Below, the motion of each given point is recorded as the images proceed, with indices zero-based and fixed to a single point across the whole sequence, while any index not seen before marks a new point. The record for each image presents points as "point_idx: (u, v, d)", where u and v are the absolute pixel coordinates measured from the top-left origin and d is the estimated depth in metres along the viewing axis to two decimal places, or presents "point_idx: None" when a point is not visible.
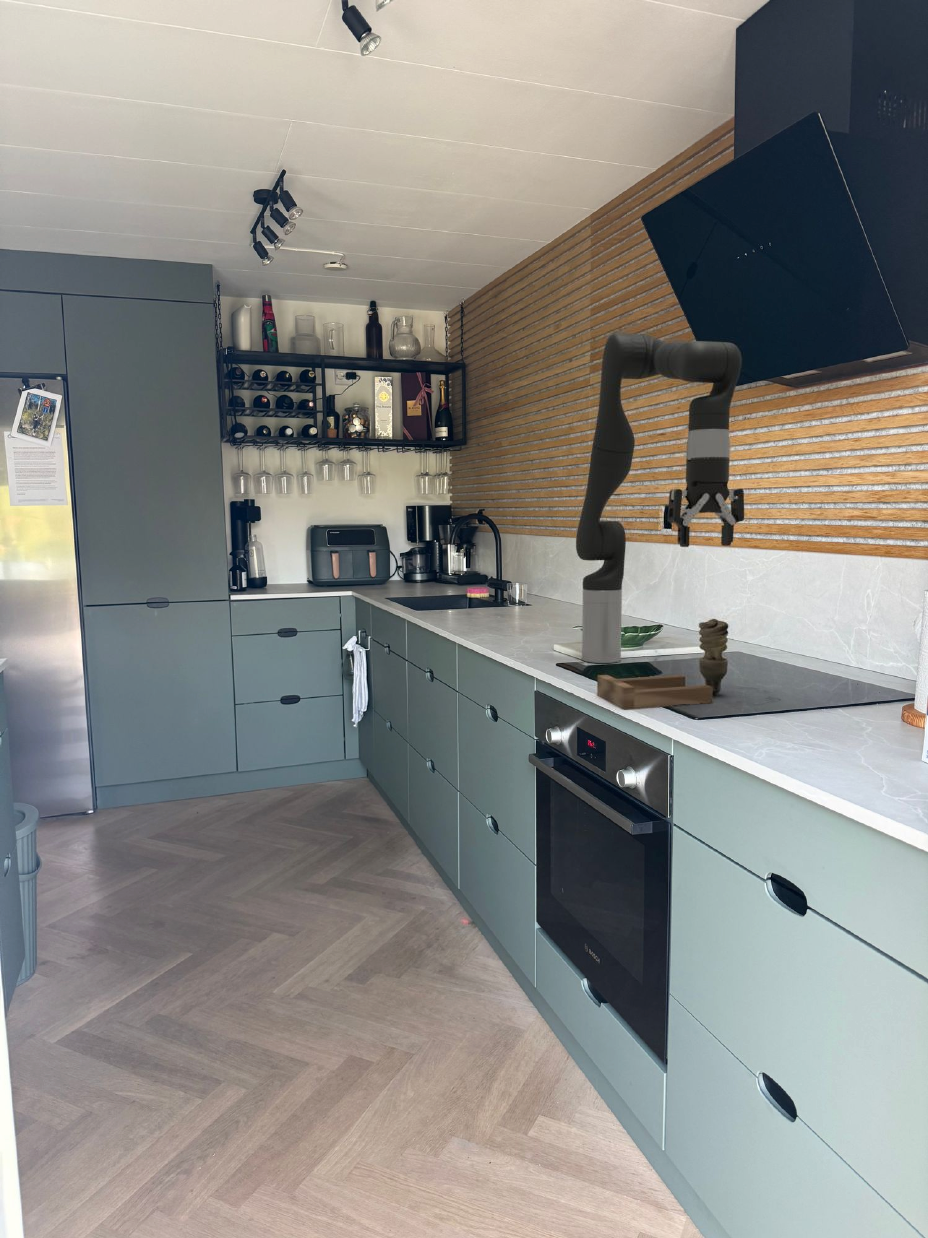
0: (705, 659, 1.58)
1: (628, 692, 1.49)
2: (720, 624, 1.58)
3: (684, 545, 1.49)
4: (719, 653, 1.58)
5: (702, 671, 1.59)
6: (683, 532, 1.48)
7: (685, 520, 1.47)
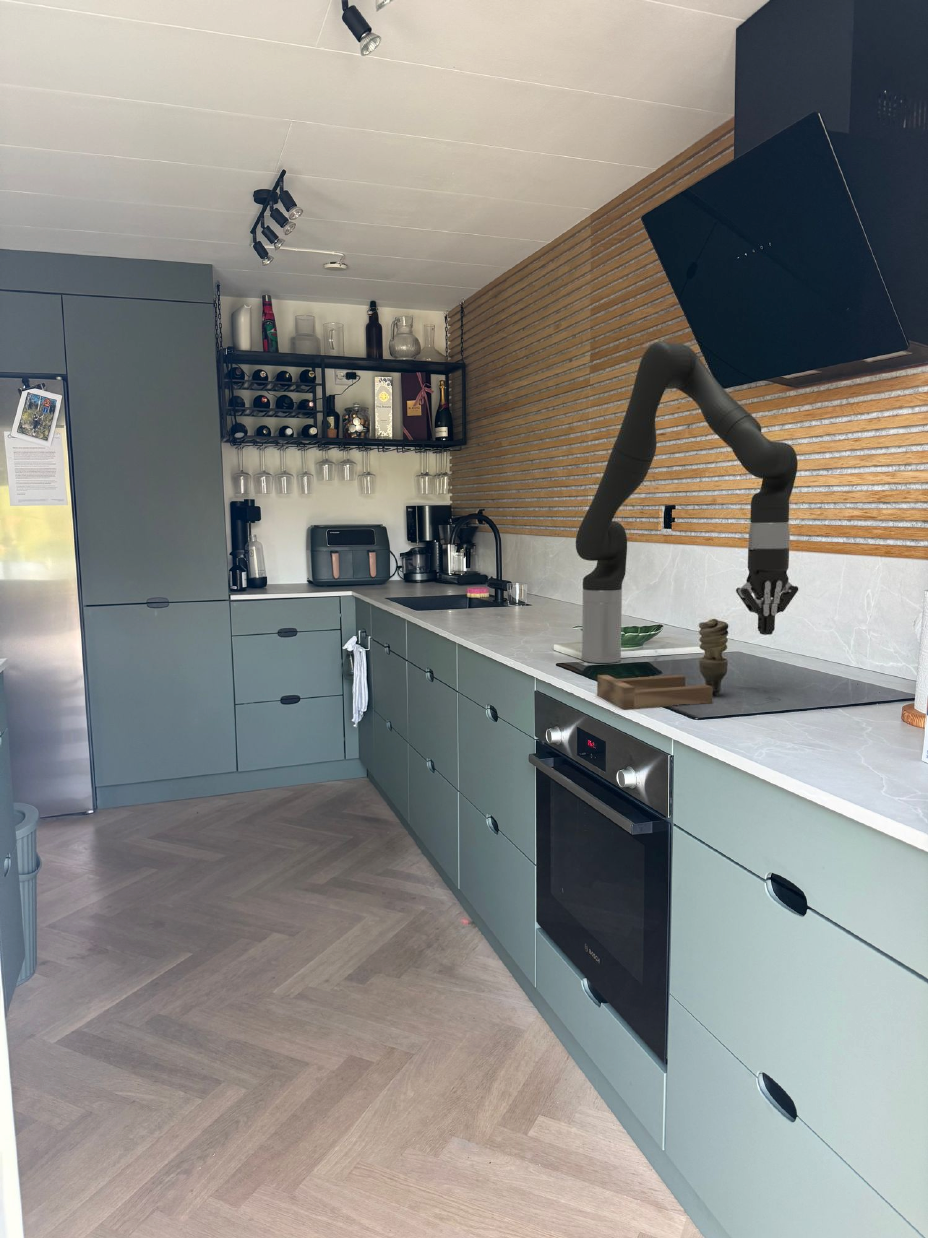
0: (705, 659, 1.58)
1: (628, 692, 1.49)
2: (720, 624, 1.58)
3: (764, 633, 1.61)
4: (719, 653, 1.58)
5: (702, 671, 1.59)
6: (763, 621, 1.60)
7: (766, 611, 1.60)
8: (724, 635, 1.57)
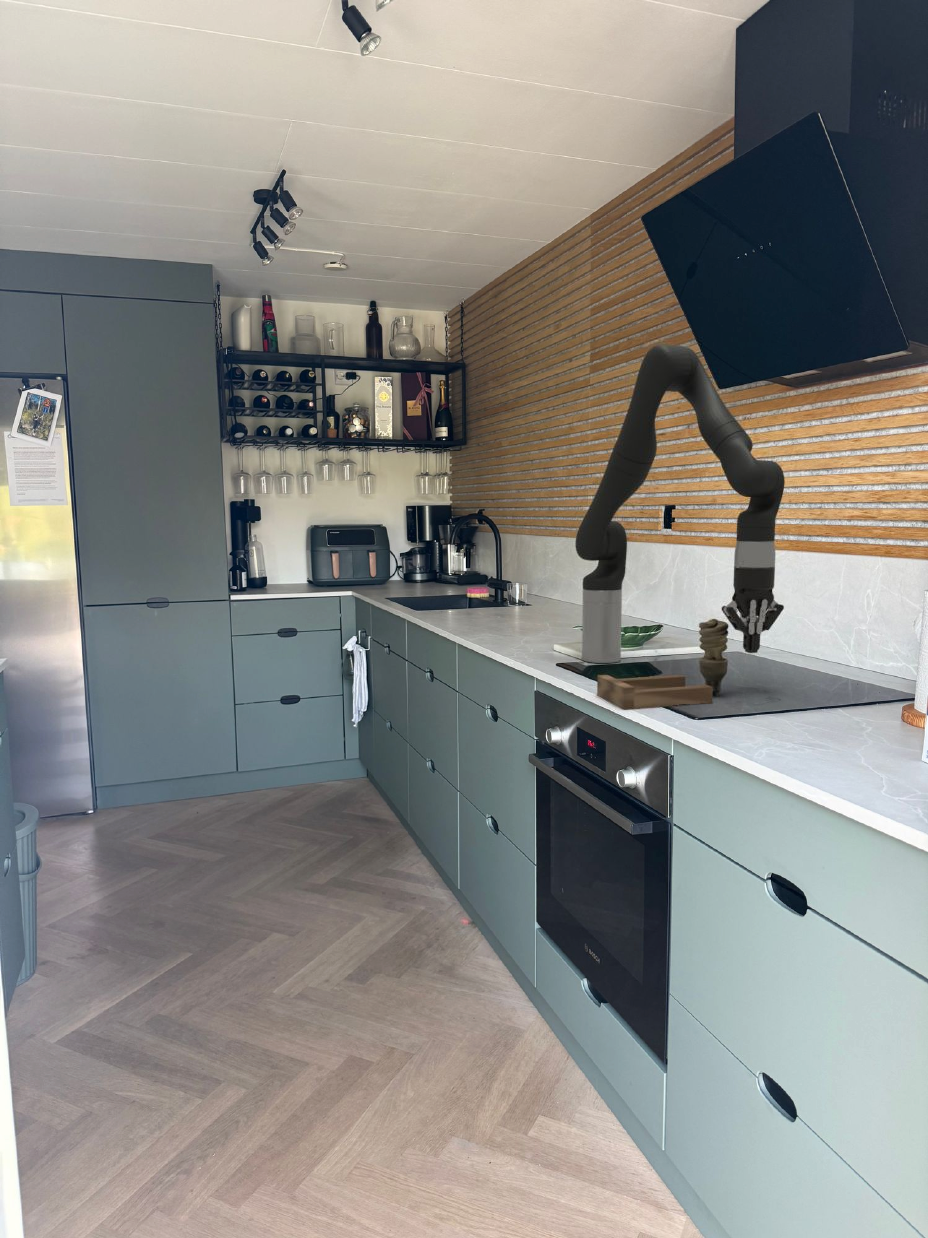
0: (705, 659, 1.58)
1: (628, 692, 1.49)
2: (720, 624, 1.58)
3: (749, 651, 1.61)
4: (719, 653, 1.58)
5: (702, 671, 1.59)
6: (749, 640, 1.60)
7: (751, 629, 1.60)
8: (724, 635, 1.57)
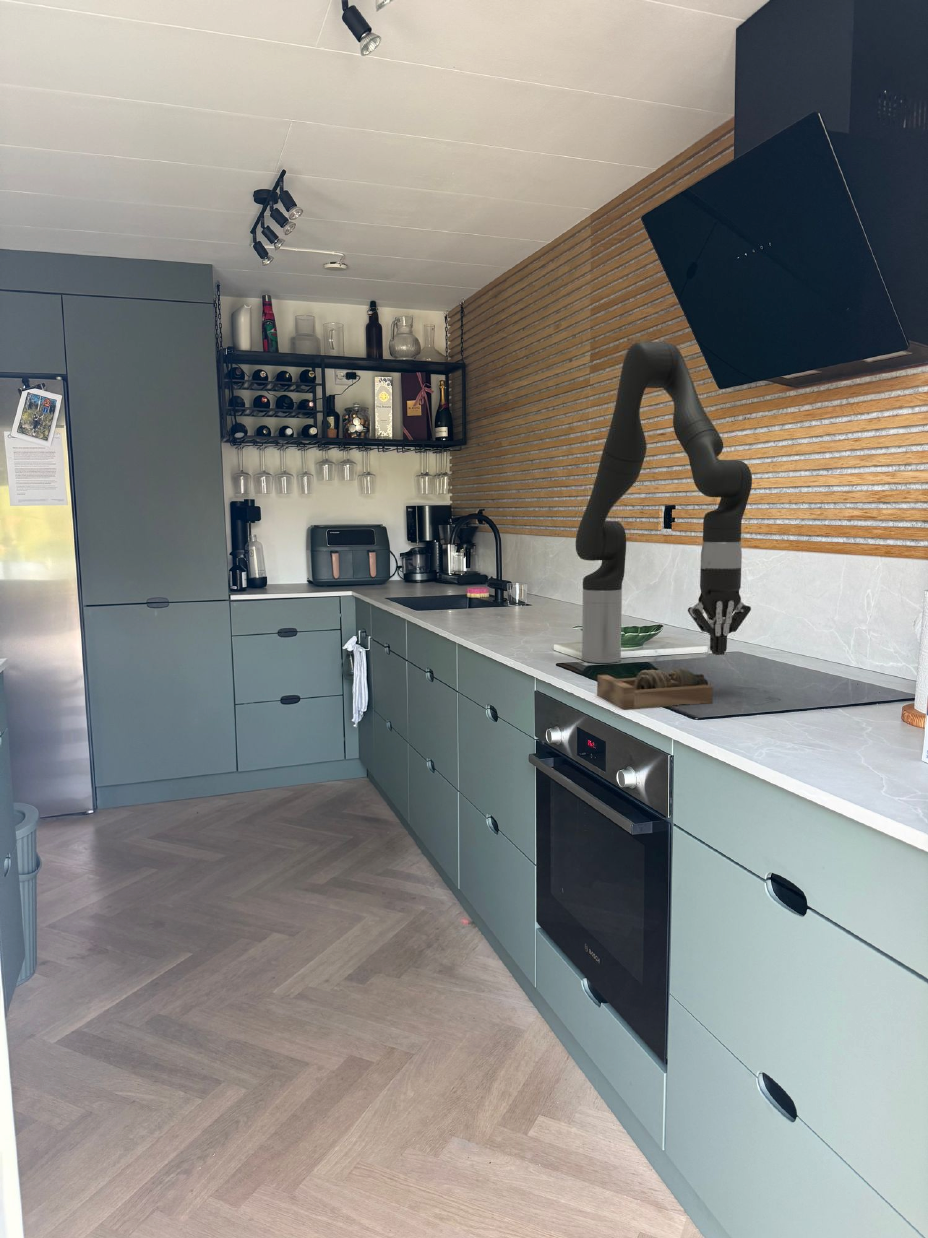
0: None
1: (628, 692, 1.49)
2: (644, 685, 1.54)
3: (716, 653, 1.59)
4: None
5: None
6: (715, 641, 1.59)
7: (717, 631, 1.58)
8: None
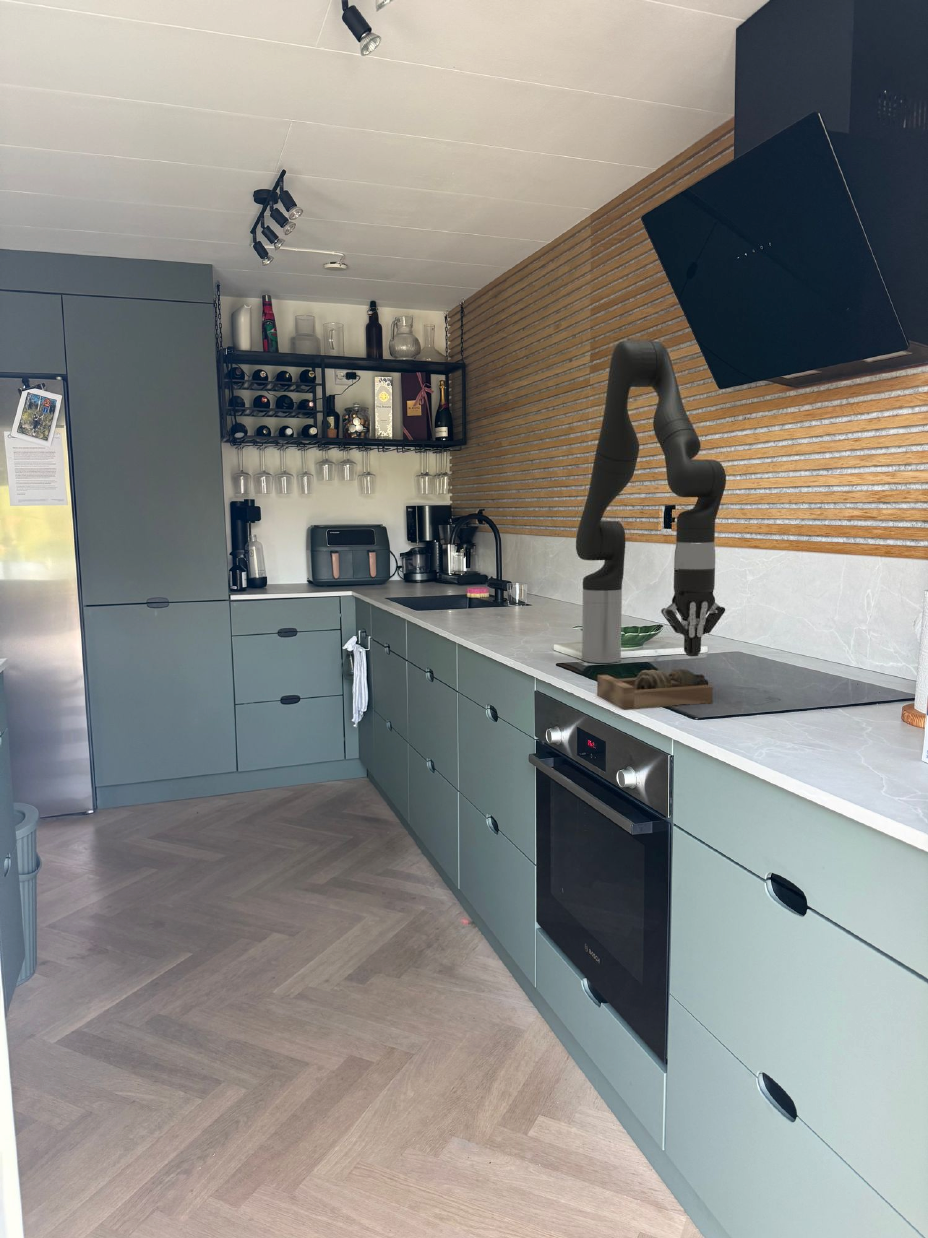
0: None
1: (628, 692, 1.49)
2: (645, 685, 1.54)
3: (690, 655, 1.58)
4: None
5: None
6: (689, 643, 1.57)
7: (691, 632, 1.56)
8: None
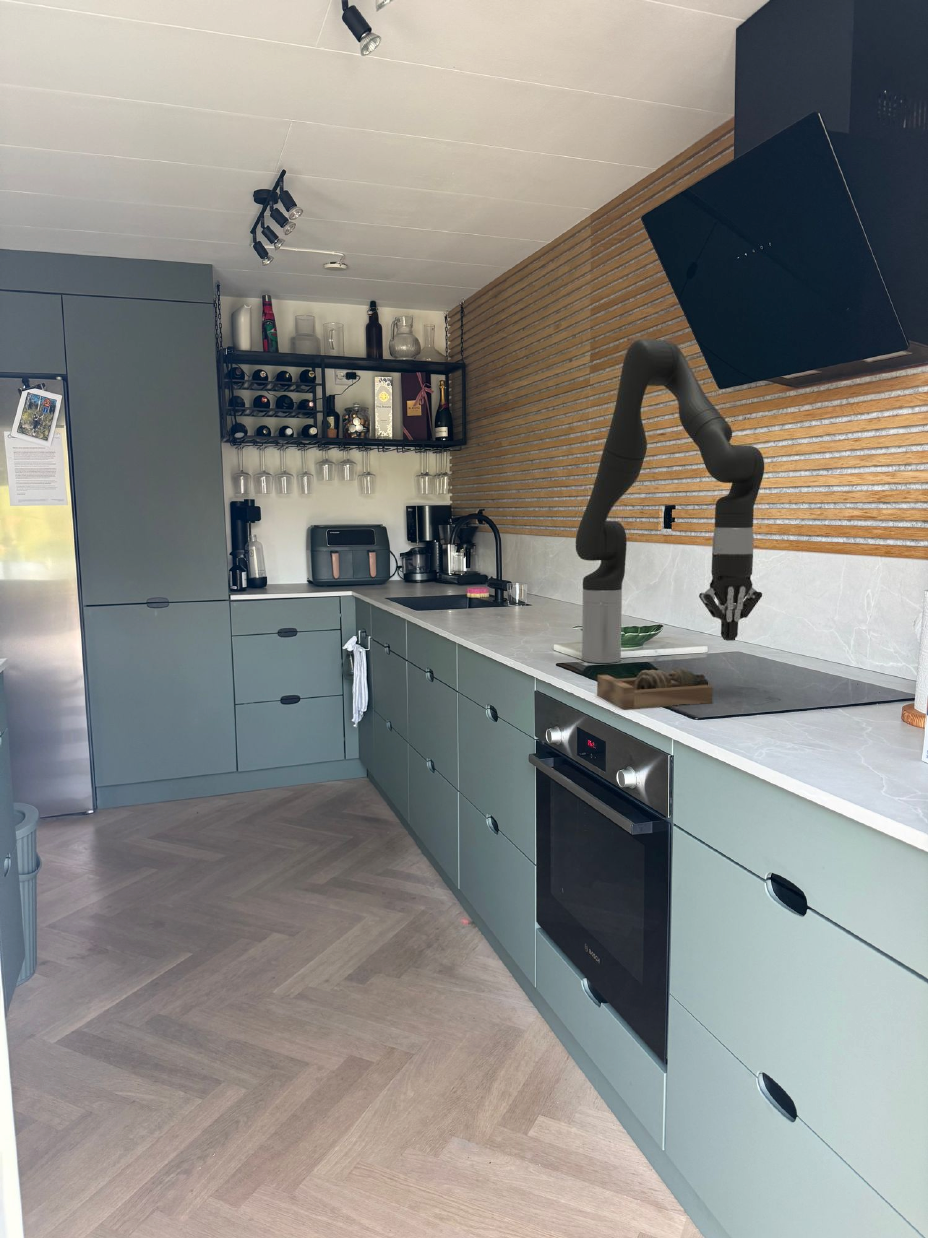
0: None
1: (628, 692, 1.49)
2: (645, 685, 1.54)
3: (727, 639, 1.59)
4: None
5: None
6: (726, 627, 1.59)
7: (729, 616, 1.58)
8: None
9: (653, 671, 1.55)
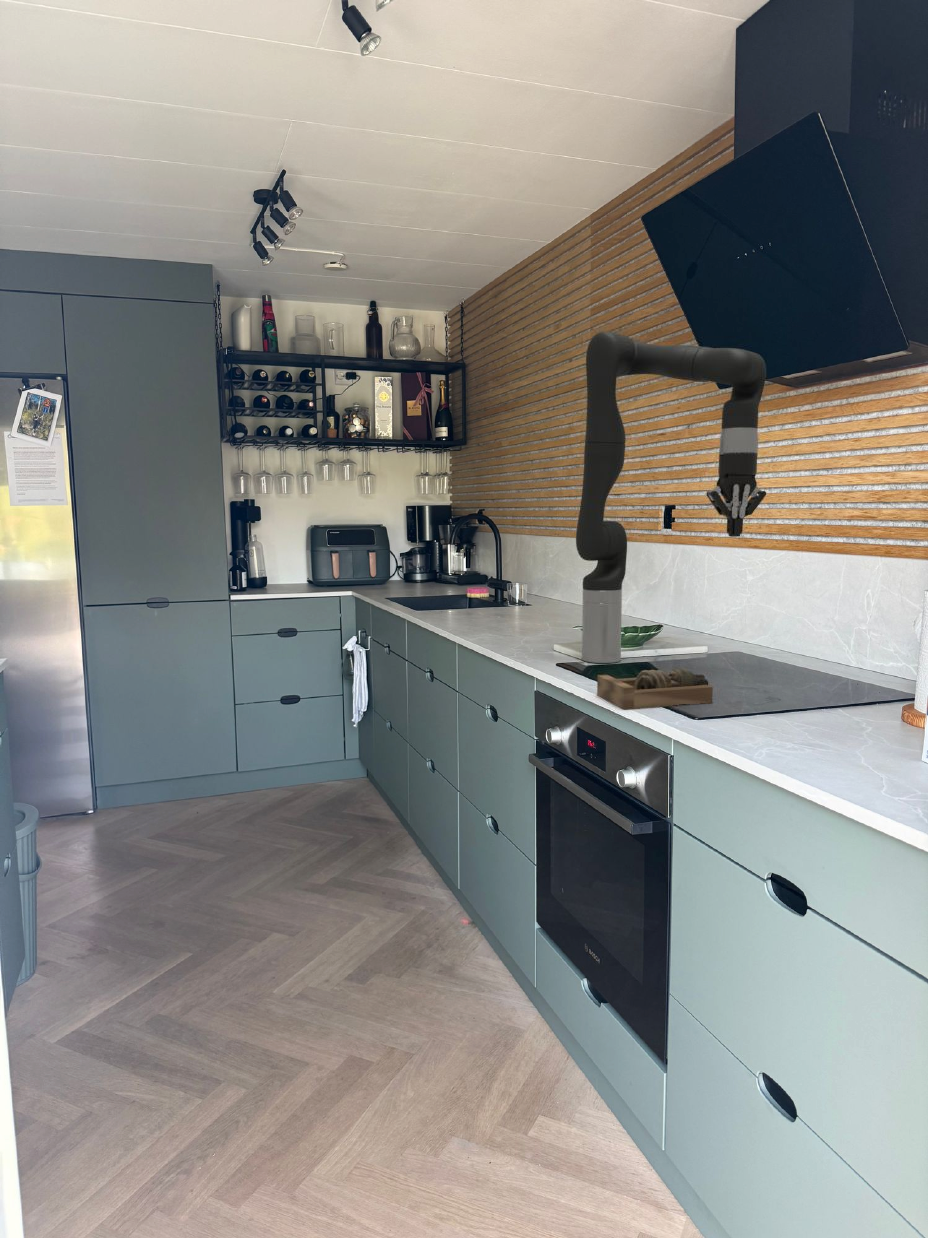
0: None
1: (628, 692, 1.49)
2: (645, 685, 1.54)
3: (732, 535, 1.70)
4: None
5: None
6: (732, 523, 1.69)
7: (734, 513, 1.69)
8: None
9: (653, 671, 1.55)
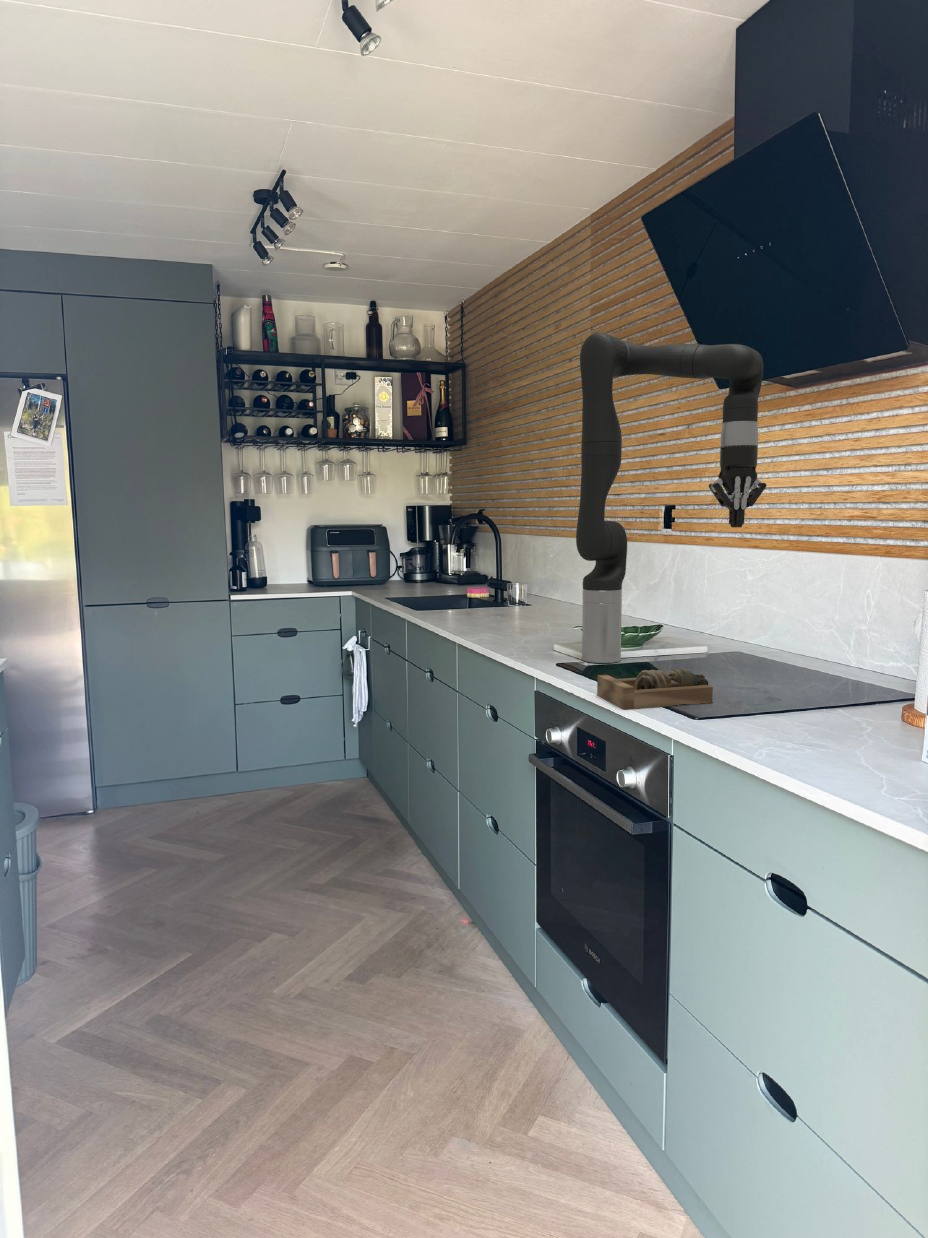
0: None
1: (628, 692, 1.49)
2: (645, 685, 1.54)
3: (735, 526, 1.74)
4: None
5: None
6: (734, 515, 1.74)
7: (736, 504, 1.73)
8: None
9: (653, 671, 1.55)
